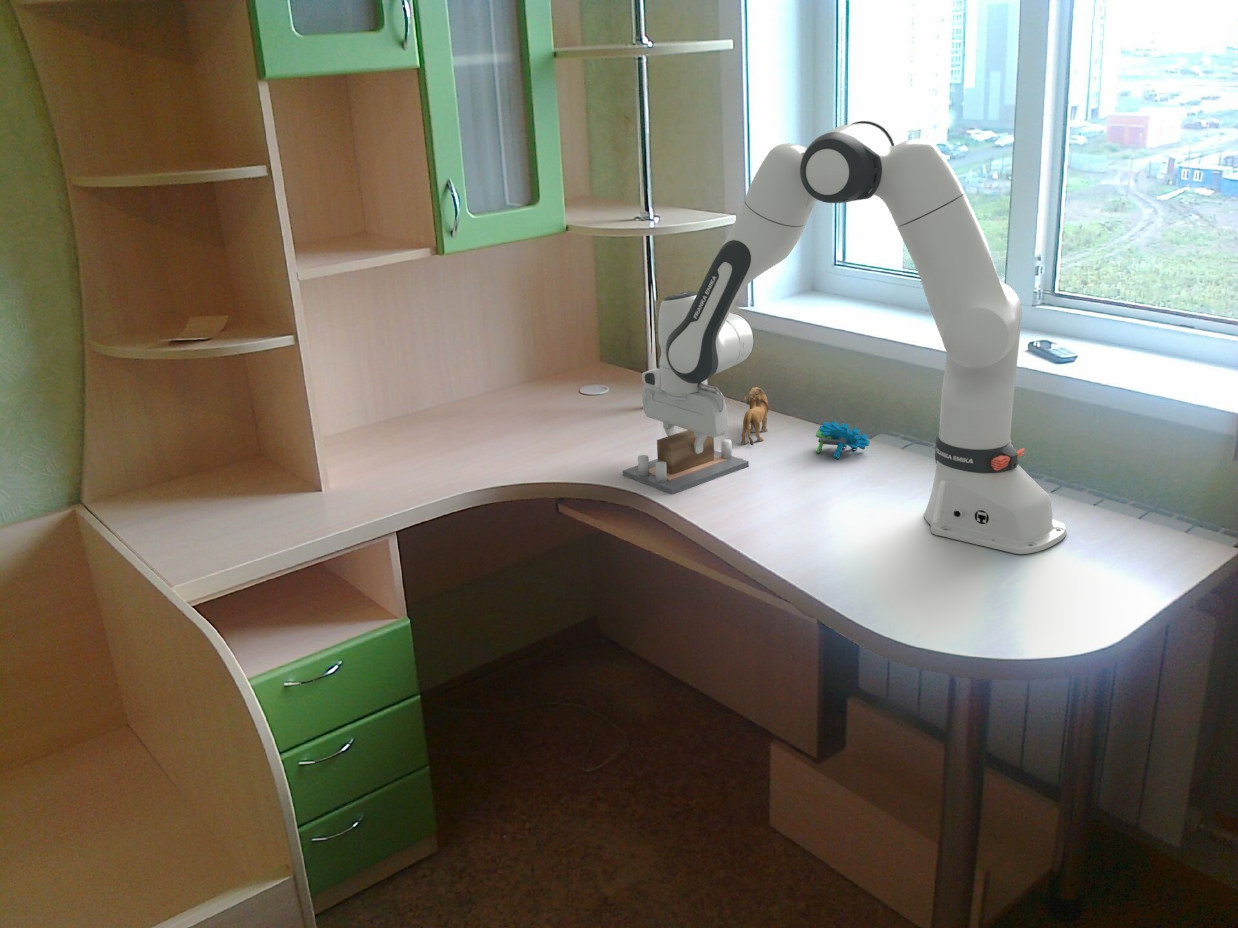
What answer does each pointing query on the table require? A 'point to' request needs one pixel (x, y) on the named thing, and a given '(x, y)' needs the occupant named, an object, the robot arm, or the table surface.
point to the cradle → (660, 479)
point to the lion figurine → (755, 414)
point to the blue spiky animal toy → (840, 437)
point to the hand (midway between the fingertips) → (685, 448)
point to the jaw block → (683, 452)
